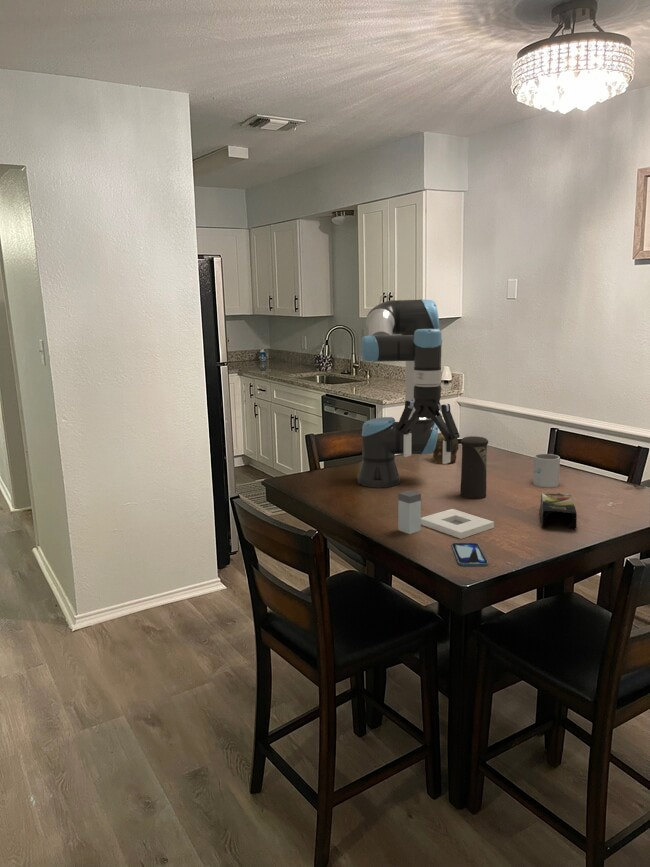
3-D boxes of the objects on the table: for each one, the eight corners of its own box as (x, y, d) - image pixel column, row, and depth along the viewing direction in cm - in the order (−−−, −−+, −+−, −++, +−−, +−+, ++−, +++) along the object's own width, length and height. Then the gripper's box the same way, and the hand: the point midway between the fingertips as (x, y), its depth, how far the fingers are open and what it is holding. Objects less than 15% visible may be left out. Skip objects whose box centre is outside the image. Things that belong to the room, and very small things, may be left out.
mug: (560, 487, 228) (561, 459, 226) (534, 487, 230) (535, 459, 228) (555, 478, 240) (556, 451, 238) (530, 477, 241) (531, 451, 239)
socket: (419, 524, 194) (419, 518, 194) (452, 514, 202) (452, 508, 202) (460, 538, 181) (461, 532, 181) (493, 527, 190) (494, 521, 189)
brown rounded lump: (460, 459, 271) (461, 430, 268) (454, 465, 261) (455, 436, 259) (435, 457, 275) (435, 429, 273) (427, 463, 265) (428, 434, 263)
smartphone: (478, 542, 177) (489, 563, 163) (478, 546, 177) (488, 567, 163) (450, 542, 178) (458, 563, 163) (450, 546, 178) (458, 567, 163)
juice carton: (538, 507, 207) (539, 489, 206) (571, 510, 205) (572, 491, 203) (540, 529, 188) (541, 509, 187) (577, 533, 186) (578, 512, 185)
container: (487, 499, 216) (489, 440, 212) (459, 498, 218) (460, 439, 214) (486, 492, 224) (488, 434, 220) (459, 491, 226) (460, 434, 222)
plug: (398, 530, 189) (398, 493, 187) (409, 526, 192) (409, 490, 190) (409, 534, 186) (409, 496, 184) (420, 530, 188) (421, 493, 186)
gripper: (384, 383, 189) (384, 455, 193) (457, 389, 172) (456, 468, 176) (400, 380, 195) (400, 451, 199) (473, 386, 177) (471, 463, 181)
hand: (426, 459), depth 187 cm, fingers open, 13 cm apart
